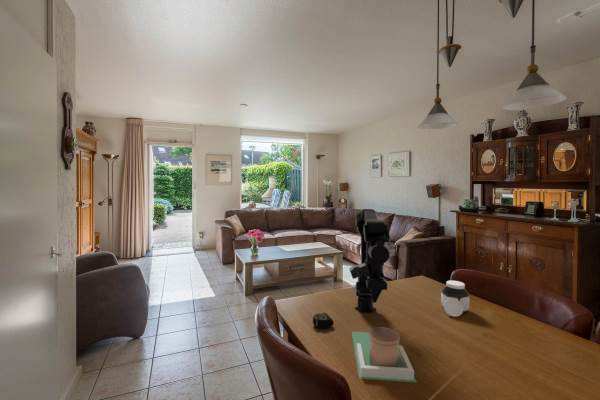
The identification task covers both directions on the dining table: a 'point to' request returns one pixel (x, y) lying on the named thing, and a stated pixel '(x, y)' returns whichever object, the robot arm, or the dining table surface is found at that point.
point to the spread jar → (455, 298)
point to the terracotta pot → (384, 347)
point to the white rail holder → (386, 372)
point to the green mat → (365, 345)
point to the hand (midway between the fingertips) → (374, 302)
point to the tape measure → (322, 320)
